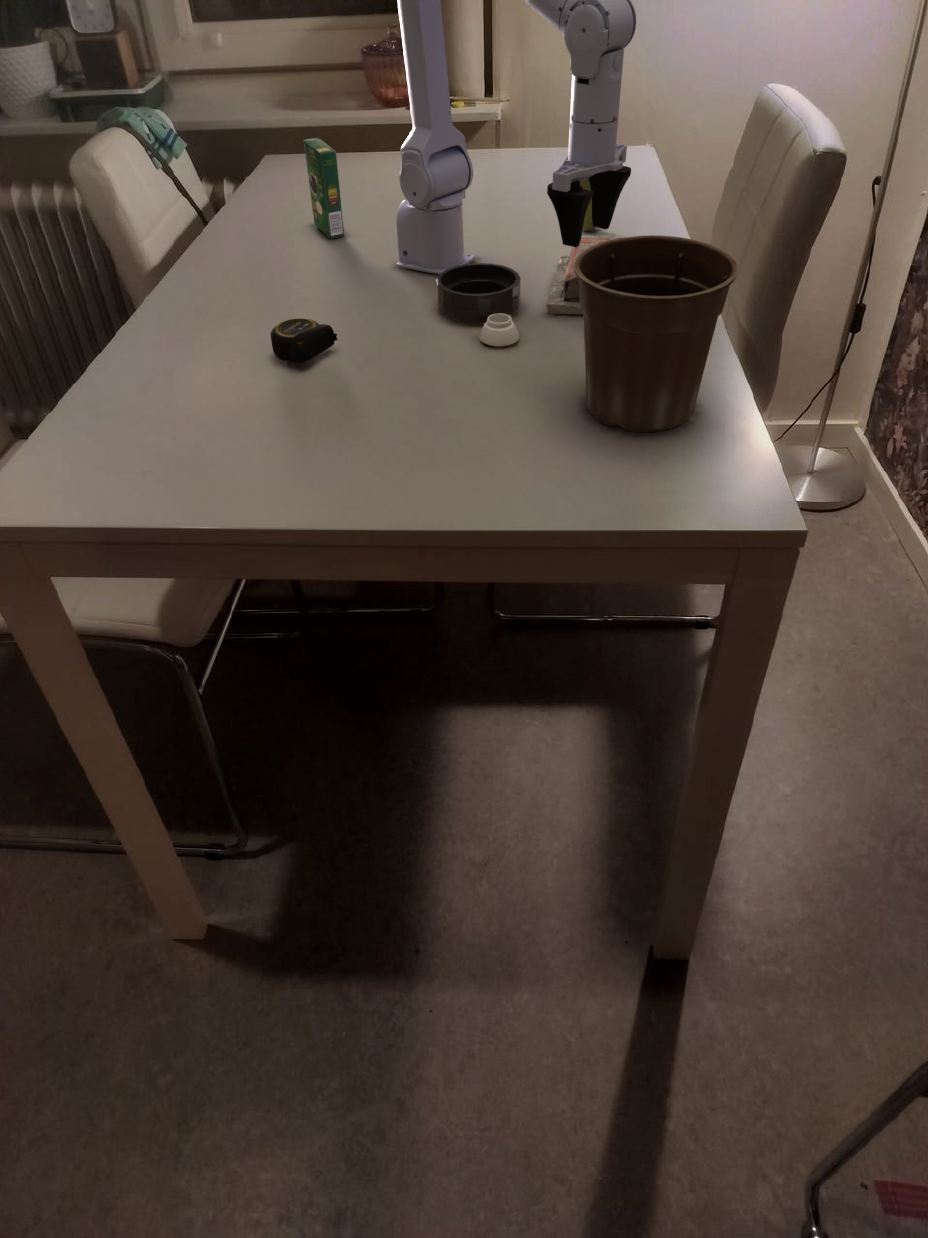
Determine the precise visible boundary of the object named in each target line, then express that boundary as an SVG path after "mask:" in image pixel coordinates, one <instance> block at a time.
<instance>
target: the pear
mask: <svg viewBox="0 0 928 1238" xmlns="http://www.w3.org/2000/svg"><path fill="white" fill-rule="evenodd" d="M580 186H582V189H584V190H590V191H591V188H590V183H589V178H587V179H585V180H583V181H581V182H580ZM595 228H596V227H593V223H592V198H591V200H590V202H589V205H588V207H587V211H586V214H585V218H584V224H583V231H582V232H584V231H585V232H586V231H591V230H594V229H595Z"/></svg>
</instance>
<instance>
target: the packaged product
mask: <svg viewBox="0 0 928 1238" xmlns="http://www.w3.org/2000/svg"><path fill="white" fill-rule="evenodd" d="M609 240H612V239H611V238H610V237H590V236H589V237H586V236H585V237H584V236H582V237H581V241H580V244H579V246H578V247H572V246H571V250H570V252H569V253H570V255H569V256H568V255H567V254H566V255H562V256H560V258H559V262H558V265H557V268H556V272H555V275H554V279H553V282H552V285H551V289H550V292H549V296H548V298H547V302H546V309H547V310H546V311H547V314H556V315H557V314H561V315H564V314H565V315H566V314H567V315H583V310H582V308H581V305H580V292H579V279H578V277H577V276H576V274H575V271H574V263H575V260H576V258H577V257H578V256H579V255H580V254H581V253H582V252H583V251H585V250H586V249H588V248H590V247H592V246H594V245H596V244H599V243H602V242H605V241H609Z"/></svg>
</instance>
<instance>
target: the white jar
mask: <svg viewBox="0 0 928 1238" xmlns="http://www.w3.org/2000/svg"><path fill="white" fill-rule="evenodd" d="M519 333H520V332H519V330H518V327H516V324H515V322H514V321H513V320H512V316H511V315H510V316H509V315H507V314H502V313H498V314H492V315H490V316H489V317H488V319H487V322H486V323H483V326H482V328H481V330H480V332H479V340H480V341H481V342H482V343H483V344H486V345H489V346H491V347H507V346H511V345H513V344H515V343H517V342H518V340H519V339H520V334H519Z"/></svg>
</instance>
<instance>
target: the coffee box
mask: <svg viewBox="0 0 928 1238" xmlns="http://www.w3.org/2000/svg"><path fill="white" fill-rule="evenodd" d="M303 146H304V155H305V162H306V169H307V178H308V185H309V193H310V194H309V195H310V201H311V207H312V216H313V224H314V225H315V226H316V227H317V229H319V230H320V231H321V232H322V233H323V234H325V236H326V237H327V238H329V239H330V240H333V239H339V238H343V237H345V228H344V220H343V209H342V199H341V189H340V177H339V168H338V159H337V158H338V157H337V150H335V149H334V148H333V147H331V146H330V145H328V144H327V143H326V142H325V141H323V140H322V139H321V138H320V137H315V138H307V139H304V140H303Z"/></svg>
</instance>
